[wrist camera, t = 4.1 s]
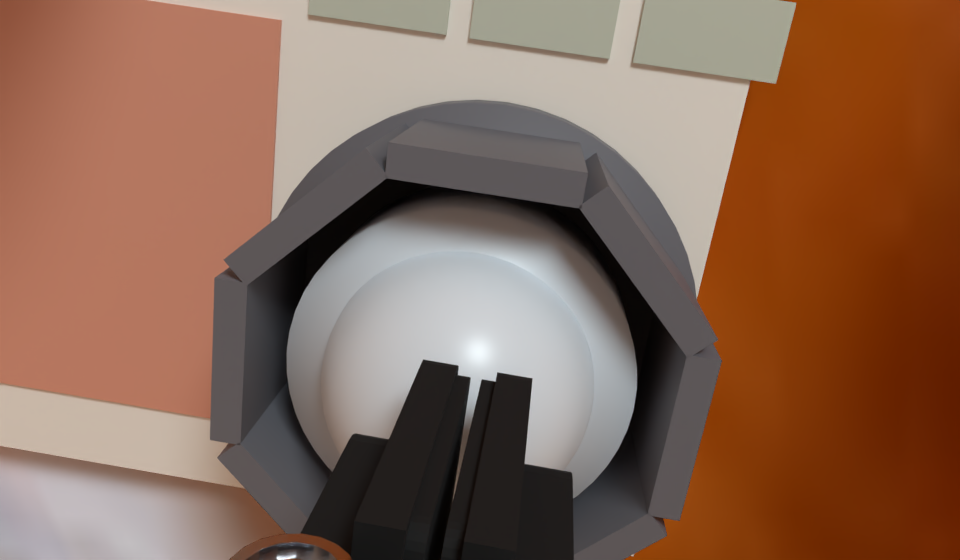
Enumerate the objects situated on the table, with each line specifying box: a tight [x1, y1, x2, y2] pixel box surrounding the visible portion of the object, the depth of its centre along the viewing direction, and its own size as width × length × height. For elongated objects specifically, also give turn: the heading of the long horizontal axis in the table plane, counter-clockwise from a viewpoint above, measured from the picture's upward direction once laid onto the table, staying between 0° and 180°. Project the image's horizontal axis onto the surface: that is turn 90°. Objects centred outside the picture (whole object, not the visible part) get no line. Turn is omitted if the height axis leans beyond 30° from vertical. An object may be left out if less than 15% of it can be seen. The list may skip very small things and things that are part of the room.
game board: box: [0, 0, 796, 560], centre depth 16 cm, size 20×14×6 cm
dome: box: [287, 186, 637, 498], centre depth 15 cm, size 7×7×5 cm
